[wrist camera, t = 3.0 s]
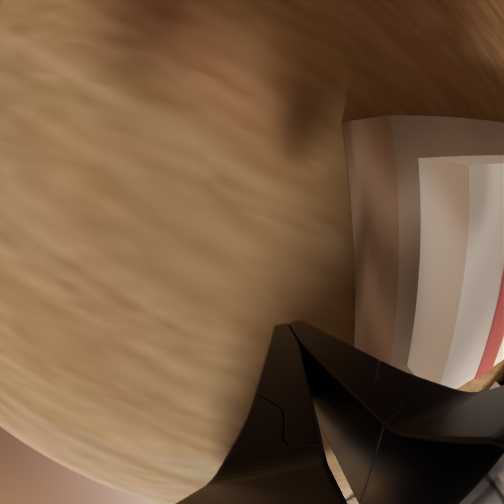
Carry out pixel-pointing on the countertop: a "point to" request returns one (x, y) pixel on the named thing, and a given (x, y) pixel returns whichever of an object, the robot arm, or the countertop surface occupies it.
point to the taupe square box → (397, 216)
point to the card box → (459, 269)
